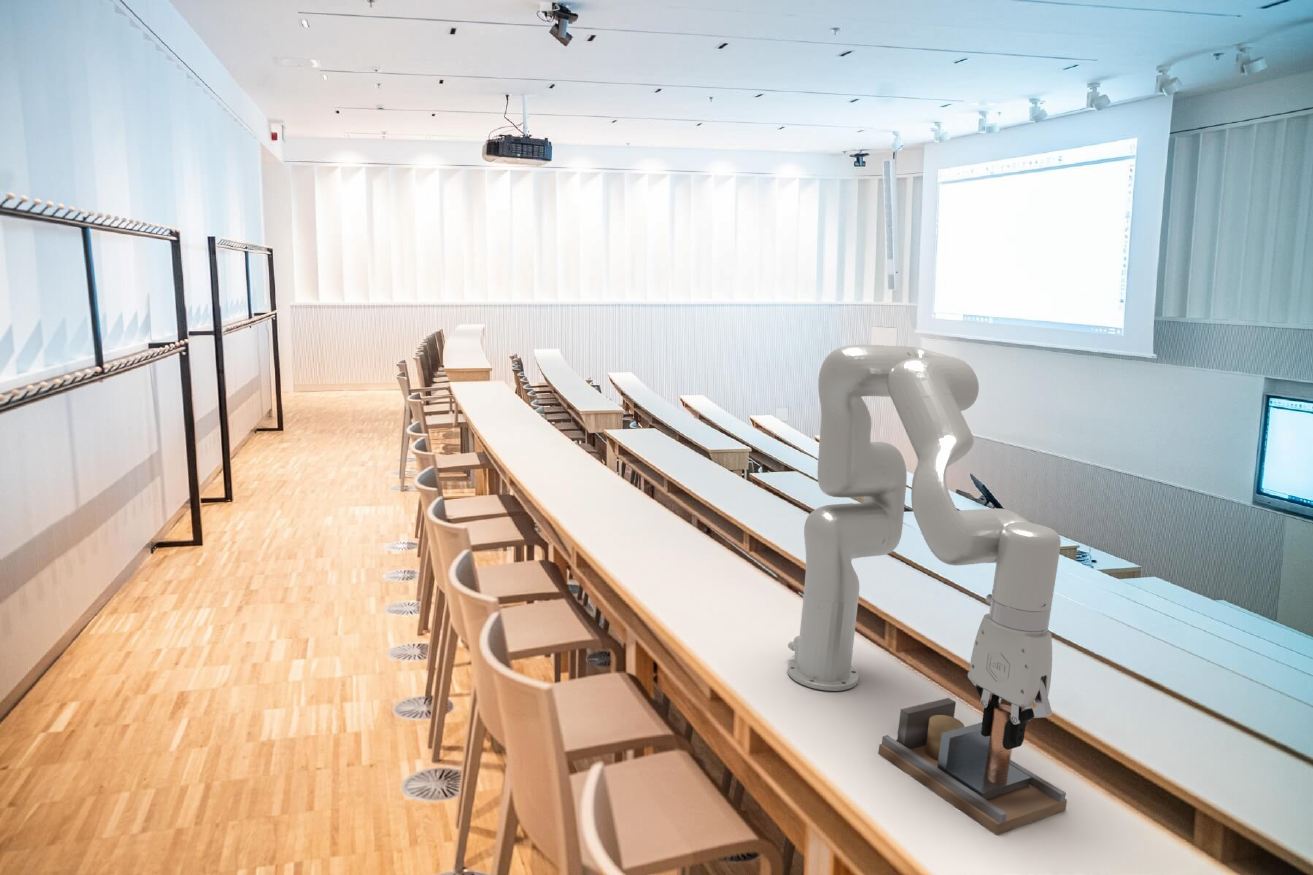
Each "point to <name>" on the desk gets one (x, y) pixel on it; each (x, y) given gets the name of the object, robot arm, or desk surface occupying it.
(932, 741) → the tan round peg
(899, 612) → the desk surface
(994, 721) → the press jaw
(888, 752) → the press base
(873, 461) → the robot arm
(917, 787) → the desk surface
